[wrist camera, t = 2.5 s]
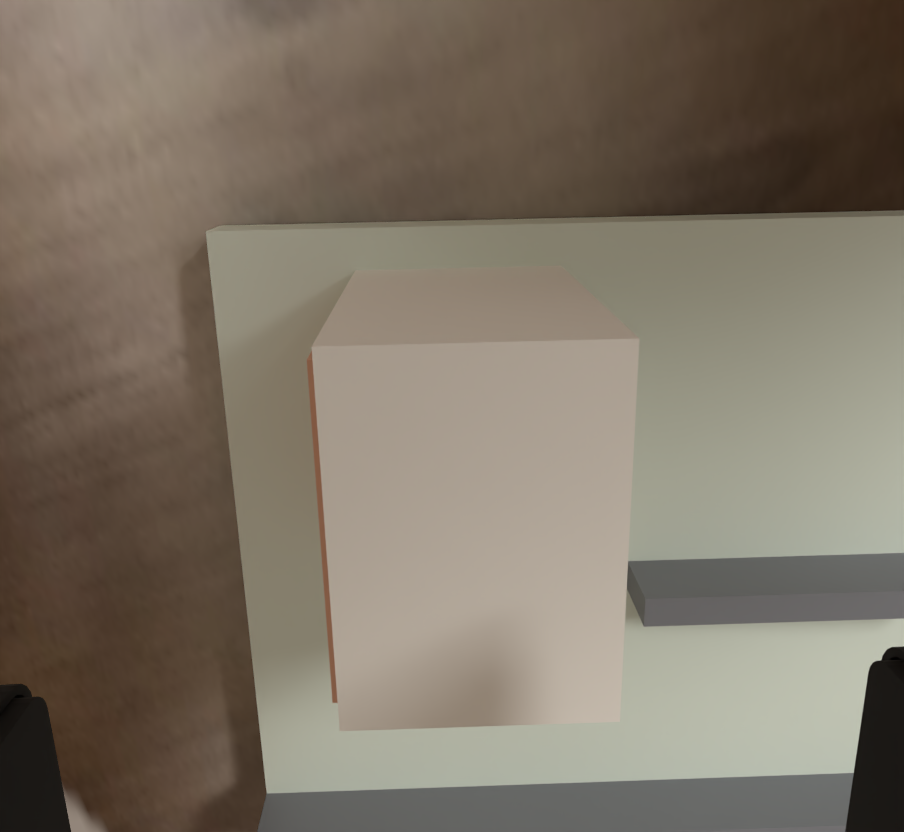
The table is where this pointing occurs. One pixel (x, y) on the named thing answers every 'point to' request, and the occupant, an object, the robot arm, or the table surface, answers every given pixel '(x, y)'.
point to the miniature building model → (651, 524)
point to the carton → (473, 497)
